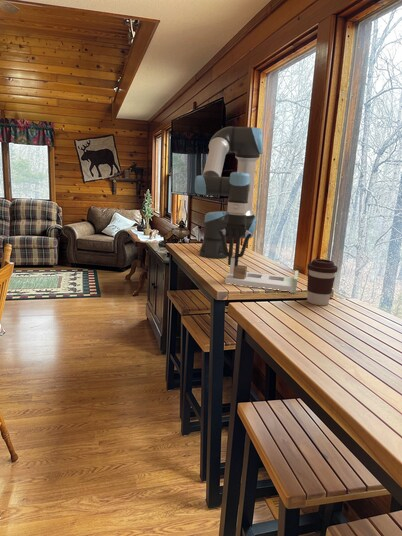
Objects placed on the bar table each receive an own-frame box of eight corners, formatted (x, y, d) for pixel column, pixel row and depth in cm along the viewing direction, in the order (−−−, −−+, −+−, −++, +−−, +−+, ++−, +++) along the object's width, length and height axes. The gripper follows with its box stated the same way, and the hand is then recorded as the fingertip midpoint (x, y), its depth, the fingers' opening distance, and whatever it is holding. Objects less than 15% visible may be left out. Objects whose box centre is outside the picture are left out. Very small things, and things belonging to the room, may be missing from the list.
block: (235, 275, 156) (236, 264, 155) (246, 276, 155) (247, 265, 154) (233, 278, 152) (233, 267, 151) (244, 279, 151) (245, 268, 150)
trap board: (231, 275, 165) (232, 263, 164) (296, 283, 159) (298, 270, 158) (224, 284, 151) (225, 270, 150) (295, 293, 145) (297, 279, 143)
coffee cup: (300, 303, 133) (305, 261, 130) (306, 296, 142) (311, 256, 138) (329, 309, 129) (335, 265, 125) (334, 301, 137) (340, 260, 134)
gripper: (218, 213, 146) (214, 273, 151) (252, 216, 142) (246, 277, 148) (222, 211, 153) (218, 269, 158) (255, 214, 150) (249, 273, 155)
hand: (232, 273), depth 153 cm, fingers closed
